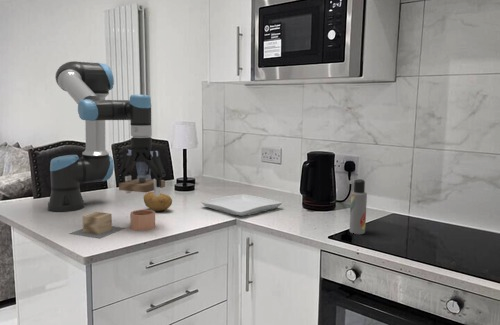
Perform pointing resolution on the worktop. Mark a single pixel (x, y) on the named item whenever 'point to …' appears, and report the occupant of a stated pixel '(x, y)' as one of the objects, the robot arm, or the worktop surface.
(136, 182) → the lid
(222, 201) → the square plate
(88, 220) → the pedestal
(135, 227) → the bowl
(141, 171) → the moka pot
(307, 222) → the worktop surface
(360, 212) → the lotion bottle
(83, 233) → the mat
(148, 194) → the potato
